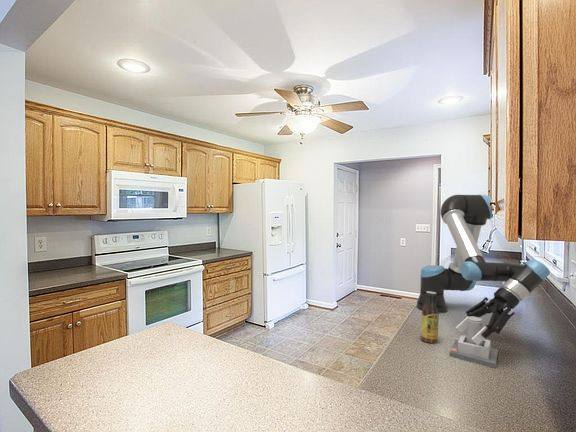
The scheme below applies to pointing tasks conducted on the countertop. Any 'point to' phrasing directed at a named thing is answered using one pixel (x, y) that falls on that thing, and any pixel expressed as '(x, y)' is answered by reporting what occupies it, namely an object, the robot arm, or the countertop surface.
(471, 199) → the robot arm
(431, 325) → the sauce bottle
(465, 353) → the socket plate
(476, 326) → the beverage can
